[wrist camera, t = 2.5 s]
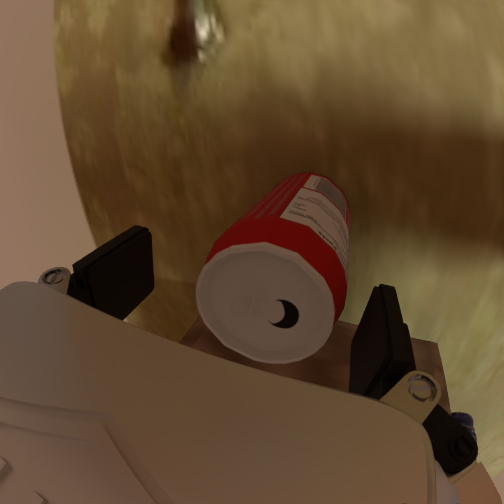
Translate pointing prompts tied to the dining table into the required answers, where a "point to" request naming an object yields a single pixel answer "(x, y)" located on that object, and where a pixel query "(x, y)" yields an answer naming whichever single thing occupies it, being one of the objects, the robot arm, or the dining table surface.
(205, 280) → the soda can
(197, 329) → the open wooden box
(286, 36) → the dining table surface
